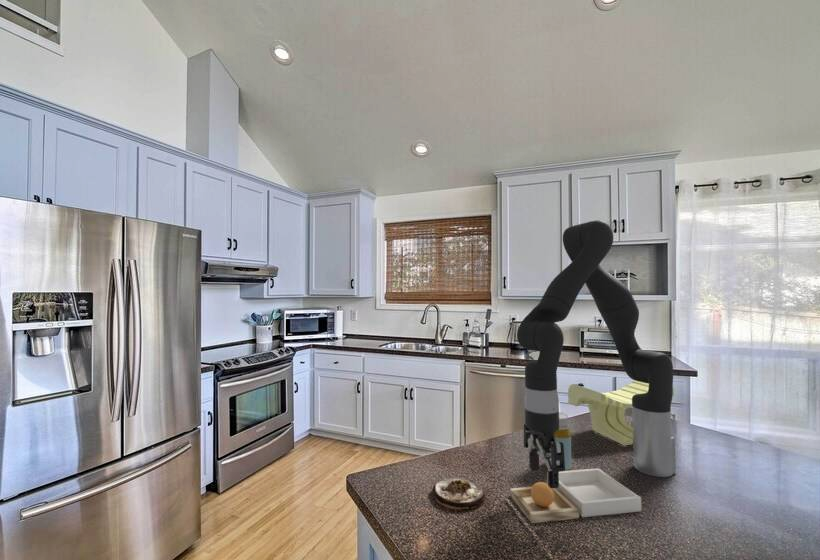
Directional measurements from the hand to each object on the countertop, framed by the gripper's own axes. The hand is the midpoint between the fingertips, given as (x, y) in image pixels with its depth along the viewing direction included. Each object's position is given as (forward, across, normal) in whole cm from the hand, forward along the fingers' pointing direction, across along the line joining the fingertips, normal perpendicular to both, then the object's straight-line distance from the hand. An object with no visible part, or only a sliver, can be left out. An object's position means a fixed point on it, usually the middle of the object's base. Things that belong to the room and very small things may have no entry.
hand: (543, 478), depth 86 cm
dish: (+7, +2, -13) cm, 15 cm away
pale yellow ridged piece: (+8, +38, -50) cm, 63 cm away
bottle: (+7, +18, -14) cm, 24 cm away
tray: (+7, 0, 0) cm, 7 cm away
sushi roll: (+7, +8, +18) cm, 21 cm away
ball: (+6, 0, 0) cm, 6 cm away
